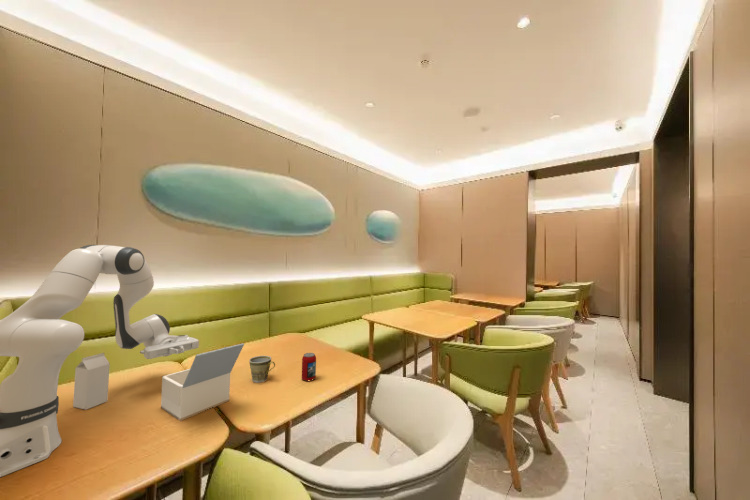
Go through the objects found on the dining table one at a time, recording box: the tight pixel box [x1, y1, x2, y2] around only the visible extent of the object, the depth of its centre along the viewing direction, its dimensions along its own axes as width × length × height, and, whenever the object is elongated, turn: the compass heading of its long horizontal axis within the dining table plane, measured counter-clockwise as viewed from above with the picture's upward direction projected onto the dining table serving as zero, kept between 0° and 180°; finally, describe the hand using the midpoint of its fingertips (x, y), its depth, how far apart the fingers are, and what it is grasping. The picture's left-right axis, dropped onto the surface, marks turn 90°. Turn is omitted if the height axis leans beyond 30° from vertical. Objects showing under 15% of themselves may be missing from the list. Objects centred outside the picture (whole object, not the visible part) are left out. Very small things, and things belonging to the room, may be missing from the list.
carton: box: [160, 368, 231, 422], centre depth 114 cm, size 16×19×12 cm
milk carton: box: [72, 352, 111, 410], centre depth 112 cm, size 7×7×19 cm
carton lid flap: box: [183, 342, 245, 388], centre depth 107 cm, size 16×18×1 cm
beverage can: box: [301, 352, 317, 382], centre depth 140 cm, size 7×7×12 cm
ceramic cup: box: [248, 355, 276, 384], centre depth 138 cm, size 13×10×10 cm
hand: (180, 351), depth 122 cm, fingers closed
